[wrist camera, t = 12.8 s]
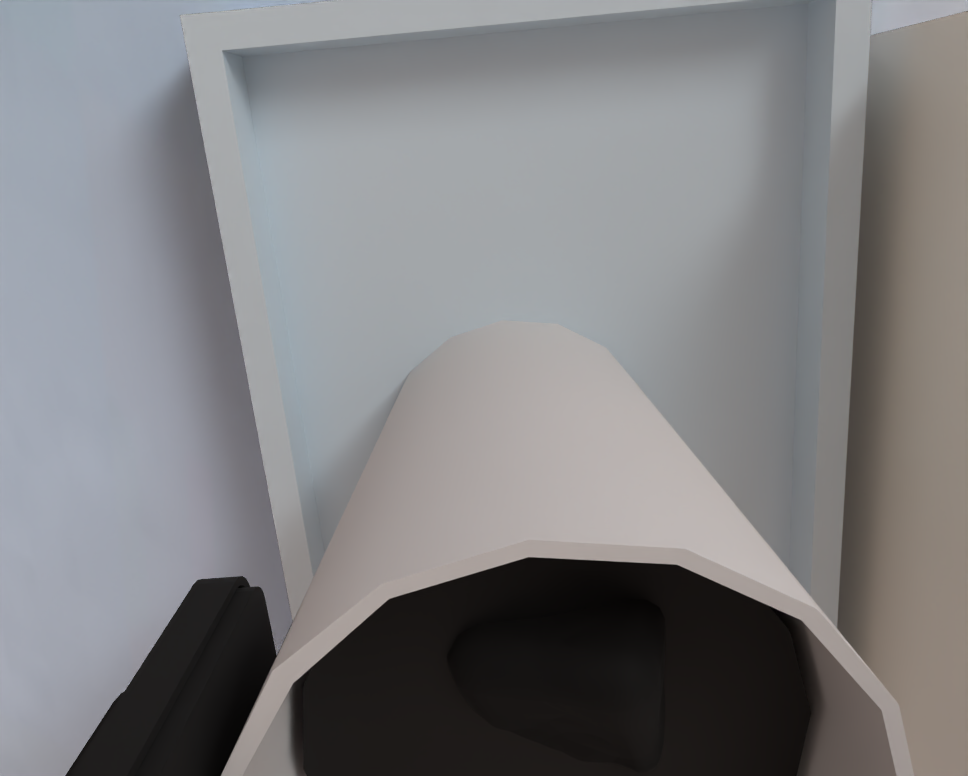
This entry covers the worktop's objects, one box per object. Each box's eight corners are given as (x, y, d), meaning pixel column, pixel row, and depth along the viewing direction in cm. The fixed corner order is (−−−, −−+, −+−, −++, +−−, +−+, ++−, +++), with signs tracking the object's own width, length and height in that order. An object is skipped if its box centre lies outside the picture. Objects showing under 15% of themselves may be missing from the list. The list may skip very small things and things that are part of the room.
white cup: (337, 320, 16) (134, 585, 7) (665, 277, 16) (937, 491, 6) (390, 602, 18) (293, 1116, 9) (682, 568, 18) (910, 1059, 8)
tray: (825, -28, 15) (874, -52, 13) (794, 746, 20) (827, 809, 19) (217, 30, 15) (179, 14, 13) (347, 779, 21) (334, 845, 19)
